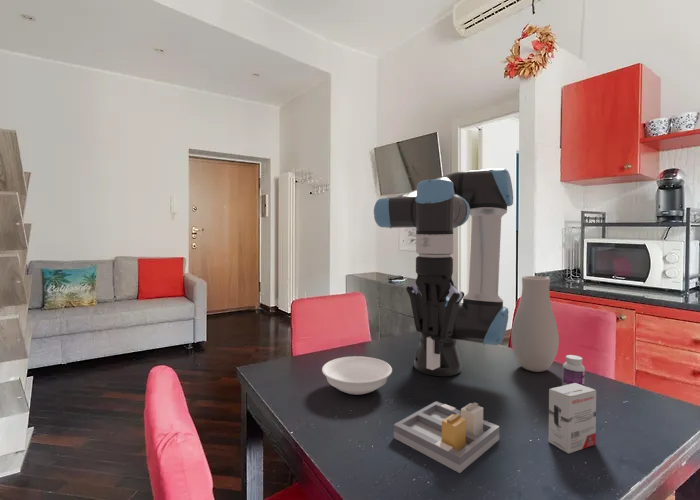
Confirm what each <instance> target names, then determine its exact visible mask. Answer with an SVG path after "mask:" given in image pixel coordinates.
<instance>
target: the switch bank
mask: <svg viewBox="0 0 700 500" xmlns="http://www.w3.org/2000/svg"><path fill="white" fill-rule="evenodd" d="M452 414H454V415H455V414H460V417H461V409H460V410H459V409H457V407H454V406H452V405H448V404H446V403H442V402H439V401H434V402H432V403H430V404H428V405H427V406H425V407H422V408H421V409H420V410H417V411H415V412H414V413H412V414H410V415H408V416H406V417H405V418H403V419H401V420H399V421H398V422H395V423H394V424H393V438H394V439H395V440H397V441H398V442H401V443H403V444H404V445H406V446H408V447H410V448H412V449H414V450H415V451H418V452H420V453H421V454H423V455H425V456H427V457H429V458H430V459H432V460H435V461H436V462H438V463H440V464H442V465H444V466H445V467H448V468H449V469H451V470H453V471H454V472H456V473H458V474H460V473H462V472H463V471H464V470H466V469H467V468H468V467H469V466H470V465H471V464H473V463H474V462H475V461H476V460H477V459H478V458H480V457H481V456H482V455H483V454H484V453H486V452H487V451H488V450H489V449H491V447H493V446H494V445H495V444H496V443H497V442H499V440H500V425H497V424H495V423H492V422H489V421H487V420H484V419H483V432H482V433H481V434H480V435H479V436H475V435H472V434H470V433H468V432H466V444H465V446H464V447H463V448H461V449H460V450H459V451H457V450H455V449H453V447H451V446H449V445H447V444H445V443H443V442H442V420H444V419H445V418H447V417H449V416H450V415H452Z"/></svg>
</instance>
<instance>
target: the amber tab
mask: <svg viewBox="0 0 700 500" xmlns="http://www.w3.org/2000/svg"><path fill="white" fill-rule="evenodd" d="M442 442H443V443H445V444H447V445H449V446H451V447H453V449H455V450H457V451H459V450H460V449H461V448H463V447H464V446H465V444H466V419H464V418H461V417H460V414H455V415H454V414H452V415H450V416H449V417H447V418H445V419H444V420H442Z"/></svg>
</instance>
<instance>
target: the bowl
mask: <svg viewBox="0 0 700 500" xmlns="http://www.w3.org/2000/svg"><path fill="white" fill-rule="evenodd" d="M321 372H322V373H323V375H324V376H325V377H326V380H327V382H328V384H329V385H330V386H332V387H334V388H336V389H337V390H338V391H341V392H343V393H345V394H346V393H347V394H349V395H356V396H357V395H364V394H369V393H372V392H374V391H375V390H378V389H379V388H381V387H383V386H384V385H385V384H386V383H387V381H388V378H389V376H391V374H392V373H393V367H392V366H391V365H390V364H389V363H388V362H387V361H385V360H382V359H379V358H375V357H369V356H356V355H354V356H342V357H338V358H334V359H332V360H329V361H328V362H326V363H324V365H322V368H321Z"/></svg>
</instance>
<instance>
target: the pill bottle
mask: <svg viewBox="0 0 700 500" xmlns="http://www.w3.org/2000/svg"><path fill="white" fill-rule="evenodd" d="M585 376H586V367H585V366H584V364H583V357H581V356H579V355H573V354H568V355H566V356H565V362H564V363H563V364H562V385H561V386H564V385H568V384H572V383H577V384H580V385H583V386H585V379H586V377H585Z"/></svg>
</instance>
